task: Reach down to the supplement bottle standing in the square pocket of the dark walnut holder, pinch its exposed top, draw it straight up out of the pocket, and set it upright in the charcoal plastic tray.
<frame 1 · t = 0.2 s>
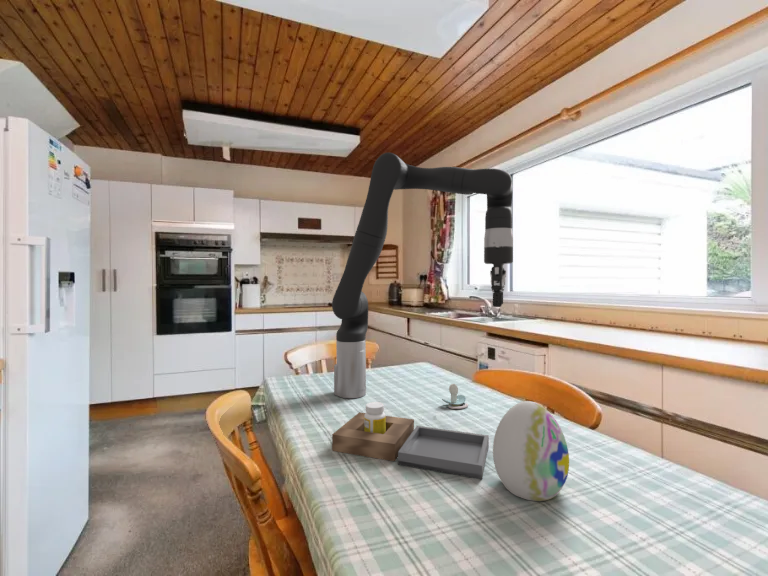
hand: (498, 305, 102), 29 cm above the table, fingers open, 8 cm apart
decorative egg: (529, 489, 65), on the table
charcoal tray: (445, 455, 77), on the table
supplement bottle: (375, 443, 83), resting in walnut holder
walnut holder: (375, 442, 83), on the table
pacifier: (456, 407, 107), on the table
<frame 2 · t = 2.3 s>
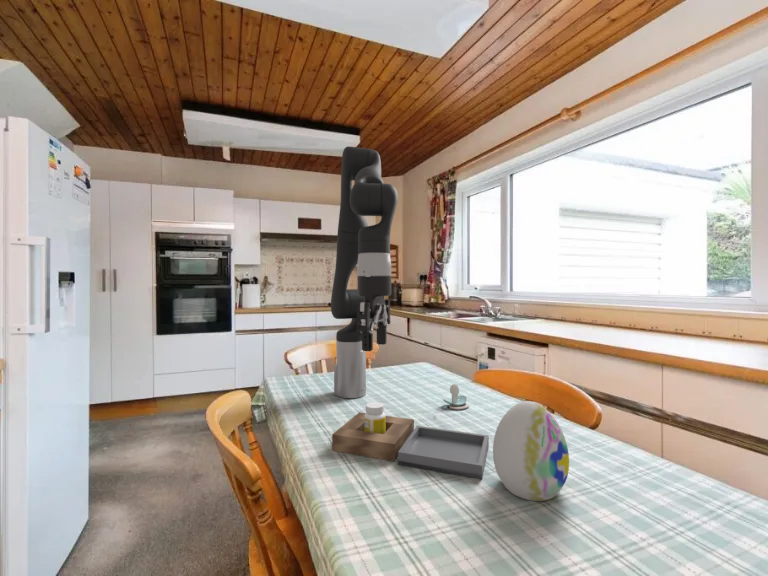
hand: (374, 347, 83), 21 cm above the table, fingers open, 8 cm apart
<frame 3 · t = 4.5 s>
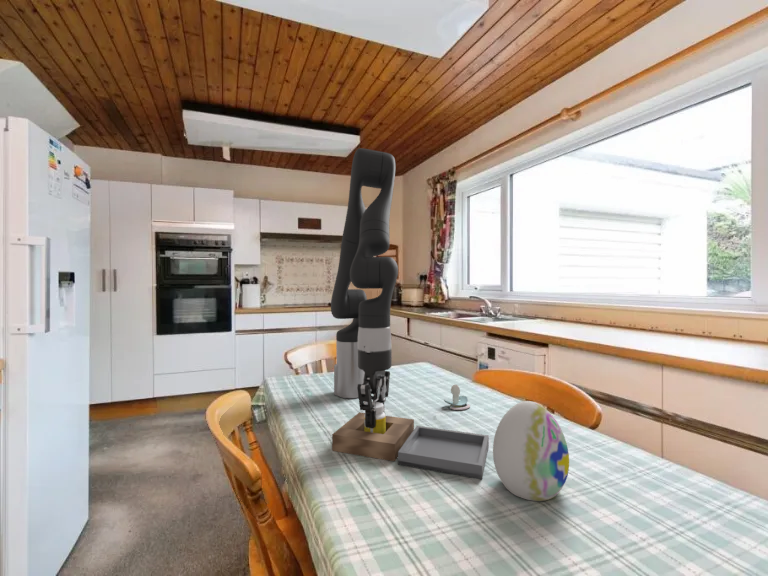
hand: (375, 422, 83), 4 cm above the table, fingers closed on supplement bottle, 4 cm apart
supplement bottle: (375, 442, 83), resting in walnut holder, touching gripper
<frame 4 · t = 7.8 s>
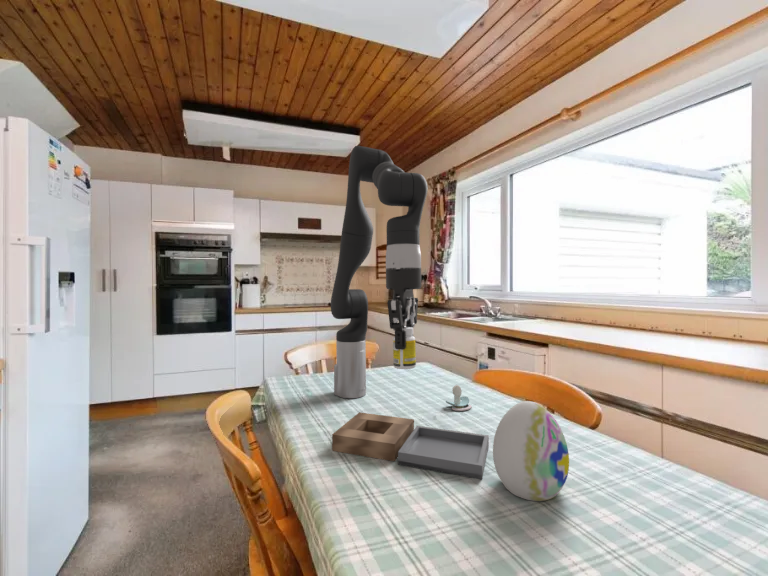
hand: (404, 346, 80), 22 cm above the table, fingers closed on supplement bottle, 4 cm apart
supplement bottle: (404, 368, 80), point 17 cm above the table, touching gripper
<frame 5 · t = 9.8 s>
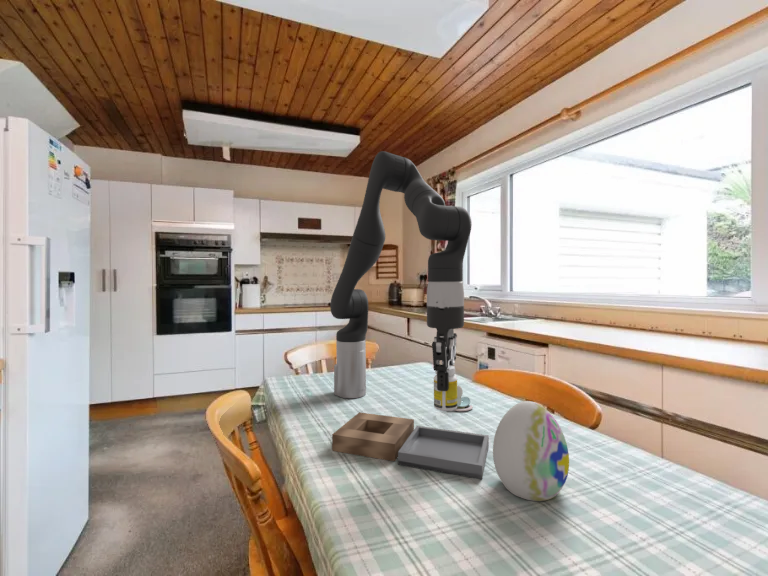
hand: (445, 386, 77), 14 cm above the table, fingers closed on supplement bottle, 4 cm apart
supplement bottle: (445, 408, 77), point 10 cm above the table, touching gripper
when the fingers open (6 cm above the table, at t = 11.6 s): supplement bottle drops 1 cm, resting on charcoal tray.
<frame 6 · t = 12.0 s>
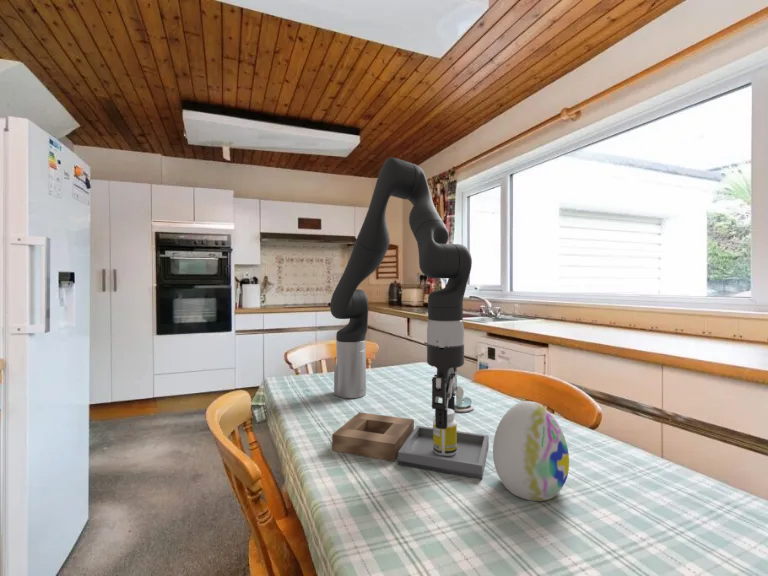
hand: (445, 420, 77), 7 cm above the table, fingers open, 8 cm apart
supplement bottle: (444, 452, 77), point 1 cm above the table, touching charcoal tray
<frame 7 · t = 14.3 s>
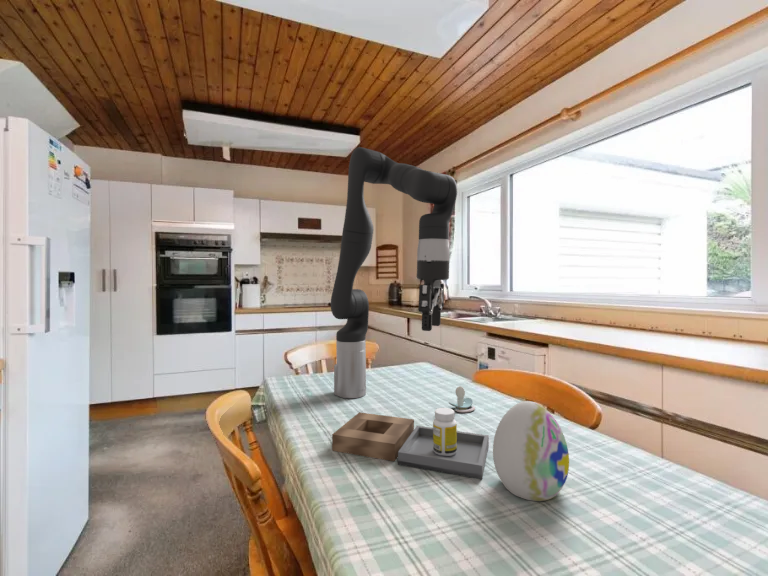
hand: (431, 328, 88), 25 cm above the table, fingers open, 8 cm apart
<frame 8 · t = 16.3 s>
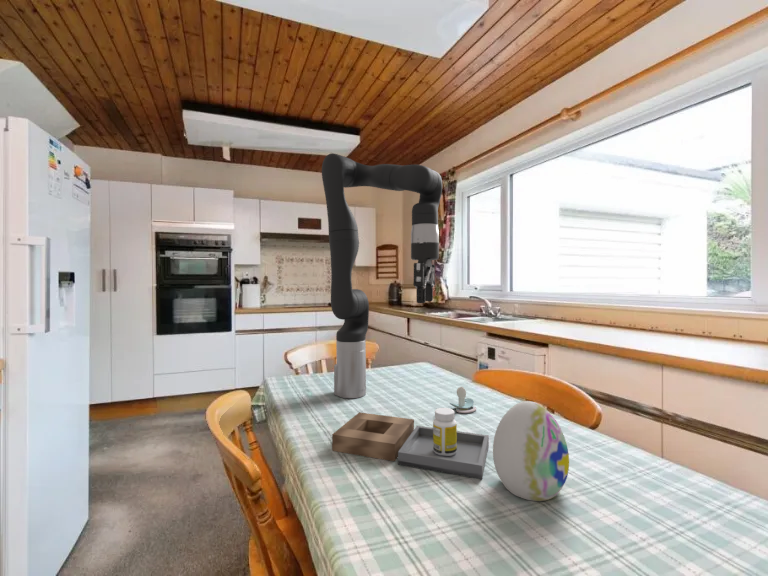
hand: (425, 302, 101), 30 cm above the table, fingers open, 8 cm apart
at the end: supplement bottle inside the target area on the charcoal tray (0.1 cm from its centre), point 0.6 cm above the charcoal tray's base; supplement bottle tilted 0°; the gripper is holding nothing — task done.
